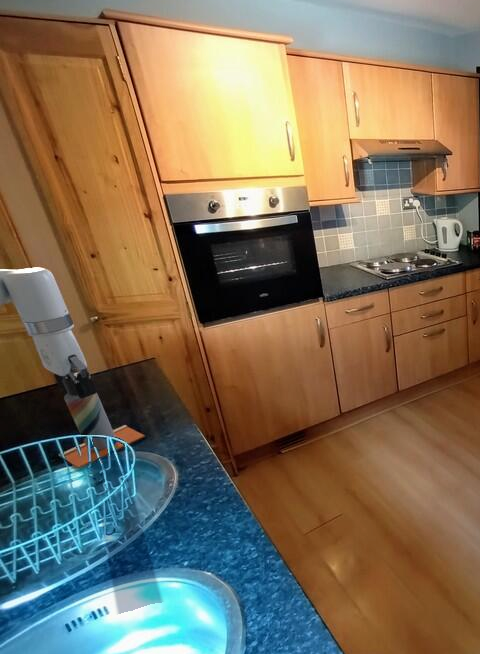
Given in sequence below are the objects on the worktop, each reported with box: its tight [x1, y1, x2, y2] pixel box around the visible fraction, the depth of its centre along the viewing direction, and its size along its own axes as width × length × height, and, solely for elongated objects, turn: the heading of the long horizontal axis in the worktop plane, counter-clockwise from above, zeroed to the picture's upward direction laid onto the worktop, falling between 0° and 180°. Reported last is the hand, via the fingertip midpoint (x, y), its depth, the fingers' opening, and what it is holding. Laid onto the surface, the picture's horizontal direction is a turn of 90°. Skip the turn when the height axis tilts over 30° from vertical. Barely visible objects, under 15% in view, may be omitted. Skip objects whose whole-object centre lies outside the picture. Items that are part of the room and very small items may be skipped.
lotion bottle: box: [62, 373, 115, 451], centre depth 110 cm, size 6×6×20 cm
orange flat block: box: [58, 424, 146, 469], centre depth 114 cm, size 14×10×1 cm
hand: (78, 390), depth 107 cm, fingers open, 9 cm apart
